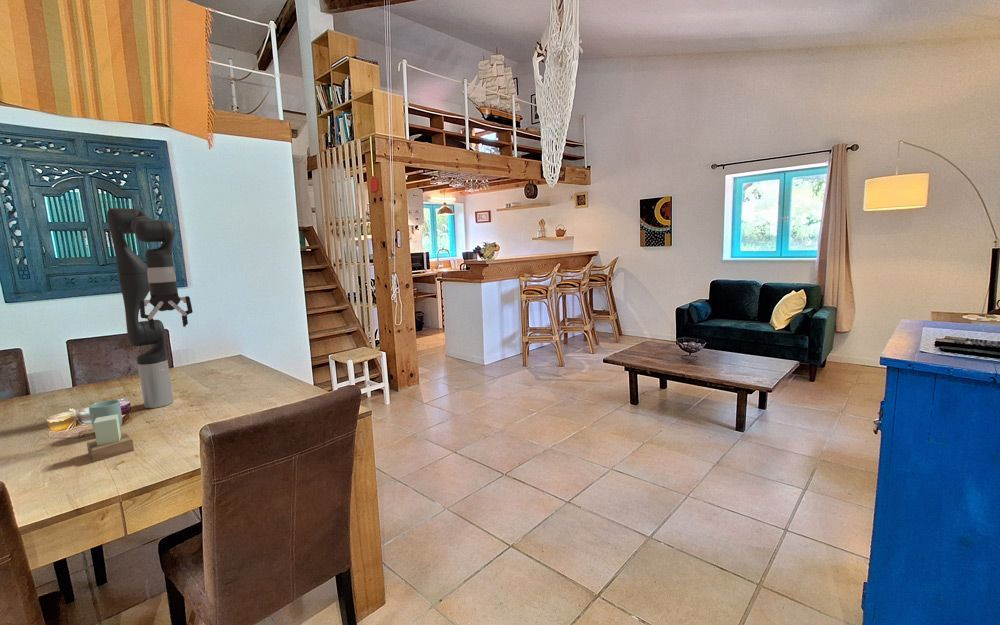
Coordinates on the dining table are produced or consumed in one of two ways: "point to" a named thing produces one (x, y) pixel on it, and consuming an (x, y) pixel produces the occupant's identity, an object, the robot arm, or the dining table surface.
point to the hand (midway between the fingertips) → (169, 328)
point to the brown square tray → (110, 448)
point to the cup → (105, 410)
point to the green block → (107, 429)
